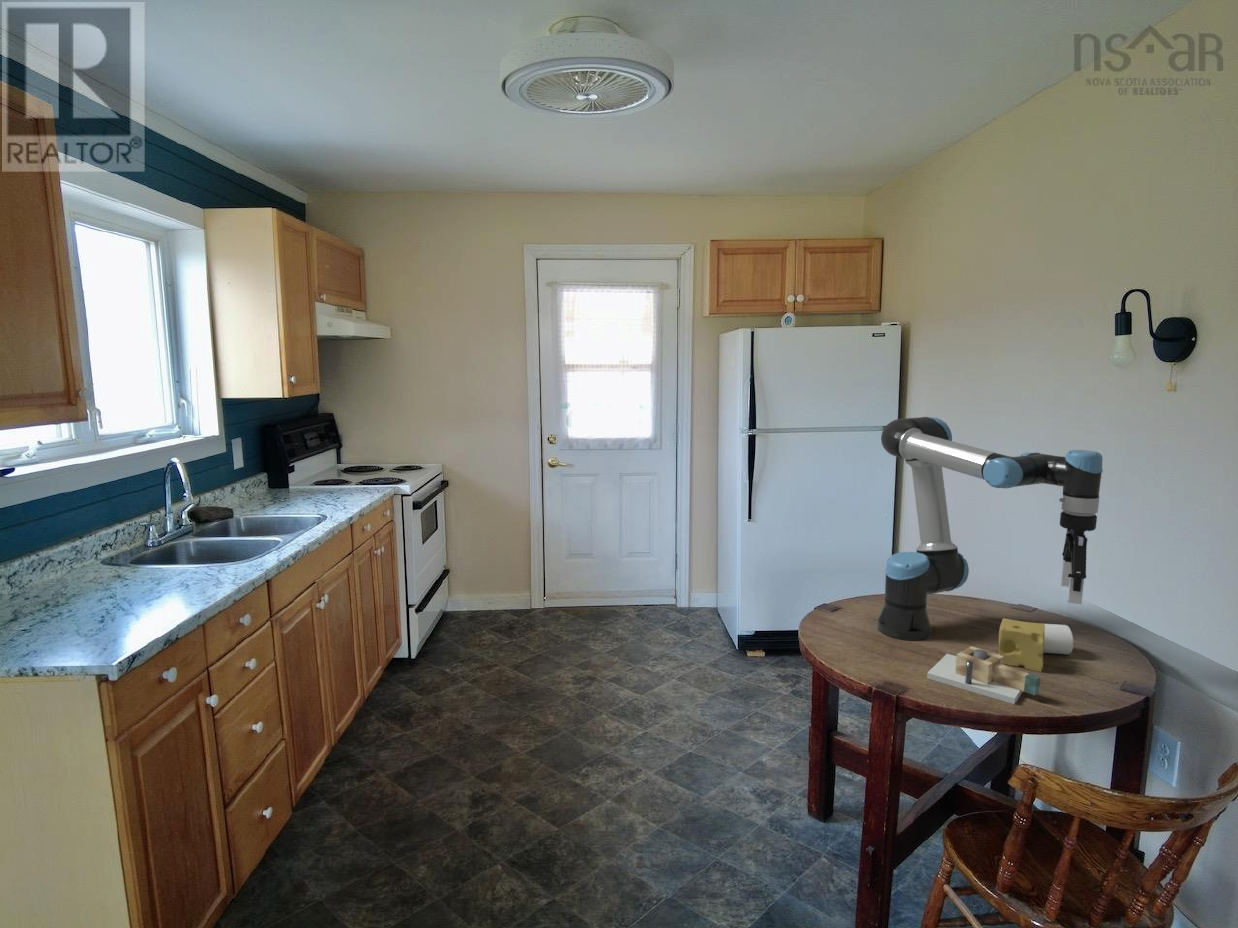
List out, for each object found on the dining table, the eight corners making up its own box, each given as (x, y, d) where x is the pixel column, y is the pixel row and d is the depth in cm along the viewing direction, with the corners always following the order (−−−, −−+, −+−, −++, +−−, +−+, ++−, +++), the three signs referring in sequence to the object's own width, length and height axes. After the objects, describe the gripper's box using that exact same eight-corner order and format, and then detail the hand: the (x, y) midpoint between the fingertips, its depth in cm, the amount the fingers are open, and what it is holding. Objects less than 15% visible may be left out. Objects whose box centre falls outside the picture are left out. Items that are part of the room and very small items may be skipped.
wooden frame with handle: (955, 672, 172) (956, 654, 172) (970, 663, 177) (971, 646, 176) (1029, 699, 159) (1031, 679, 158) (1043, 689, 163) (1045, 669, 163)
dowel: (964, 683, 167) (965, 662, 166) (966, 681, 168) (967, 660, 167) (970, 684, 166) (972, 663, 165) (972, 682, 167) (973, 662, 166)
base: (926, 678, 173) (928, 650, 172) (946, 658, 184) (948, 632, 183) (1014, 704, 159) (1016, 674, 158) (1029, 681, 171) (1032, 653, 169)
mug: (1072, 659, 183) (1074, 631, 182) (1032, 656, 185) (1034, 628, 184) (1053, 641, 195) (1056, 615, 194) (1016, 639, 197) (1018, 613, 196)
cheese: (1042, 673, 175) (1045, 636, 174) (995, 663, 181) (998, 628, 180) (1042, 658, 184) (1045, 623, 183) (997, 649, 190) (1000, 616, 188)
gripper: (1055, 501, 180) (1047, 577, 183) (1067, 521, 158) (1059, 607, 161) (1088, 504, 176) (1081, 581, 179) (1106, 525, 154) (1097, 613, 157)
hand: (1070, 594), depth 170 cm, fingers open, 13 cm apart
